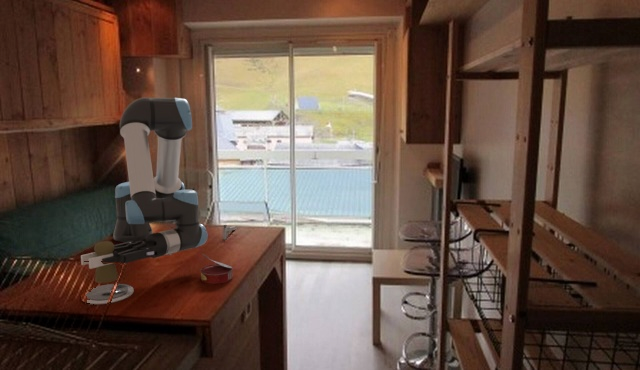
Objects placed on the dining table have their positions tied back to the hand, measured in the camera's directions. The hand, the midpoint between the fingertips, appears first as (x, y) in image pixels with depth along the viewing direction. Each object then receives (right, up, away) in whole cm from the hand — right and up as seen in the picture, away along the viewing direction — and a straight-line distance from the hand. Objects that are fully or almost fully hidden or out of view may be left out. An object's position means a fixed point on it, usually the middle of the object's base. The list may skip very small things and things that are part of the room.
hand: (85, 261), depth 128 cm
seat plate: (+3, -10, +6) cm, 12 cm away
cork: (+3, -6, +5) cm, 9 cm away
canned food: (+32, -9, +20) cm, 39 cm away
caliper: (+26, 0, +72) cm, 77 cm away
